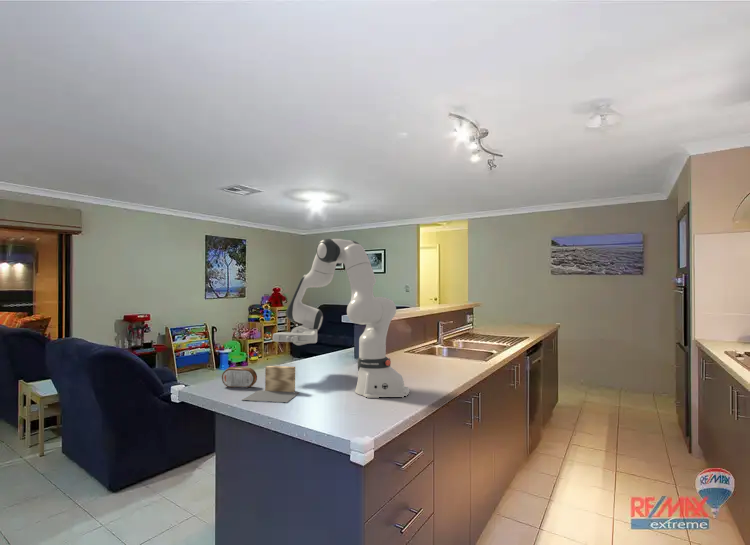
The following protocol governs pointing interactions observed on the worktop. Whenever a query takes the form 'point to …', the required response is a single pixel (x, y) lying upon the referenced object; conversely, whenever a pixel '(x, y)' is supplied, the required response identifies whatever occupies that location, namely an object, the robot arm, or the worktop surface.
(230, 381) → the bluetooth speaker
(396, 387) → the robot arm
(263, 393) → the mat
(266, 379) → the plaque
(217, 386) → the worktop surface
